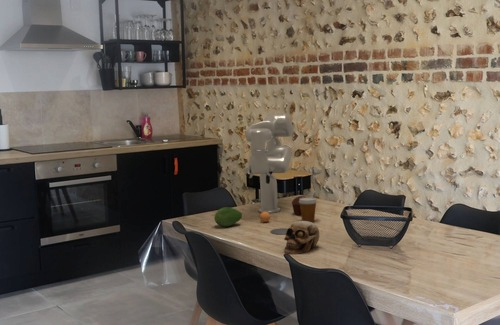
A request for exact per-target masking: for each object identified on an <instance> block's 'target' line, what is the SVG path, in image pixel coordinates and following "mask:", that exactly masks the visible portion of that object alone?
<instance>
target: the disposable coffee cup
mask: <svg viewBox="0 0 500 325" xmlns="http://www.w3.org/2000/svg"><path fill="white" fill-rule="evenodd" d="M317 202H318V201H317V199H316V197H309V196H305V198H300V199H299V203H300V209H301V215H302V216H301V221H308V222H312V223H314V222H315V215H316V204H317Z"/></svg>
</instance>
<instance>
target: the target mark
mask: <svg viewBox="0 0 500 325" xmlns="http://www.w3.org/2000/svg"><path fill="white" fill-rule="evenodd" d="M287 230H288V228H284V227H283V228H274V229H271V230H270V231H269V233H270V234H272V235H279V236H281V235H285V236H286V232H287Z"/></svg>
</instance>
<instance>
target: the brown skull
mask: <svg viewBox="0 0 500 325" xmlns="http://www.w3.org/2000/svg"><path fill="white" fill-rule="evenodd" d="M287 229H288V230H287V232H286V234H285V237H284V238H283V240H284V241H286V244H285V247H284V250H283V253H284V254H286V253H287V254H286V255H298V254H299V255H300V254H304V253H308V252H310V250H311V249H313V248H314V247H315V246H317V244H318V242H319V239H320V229H319V227H318V226H317V224H316V223H314V222H308V221H302V220H300V221H299V220H298V221H294V222H292V224H291V225H290V226H289V227H288V228H287Z"/></svg>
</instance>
